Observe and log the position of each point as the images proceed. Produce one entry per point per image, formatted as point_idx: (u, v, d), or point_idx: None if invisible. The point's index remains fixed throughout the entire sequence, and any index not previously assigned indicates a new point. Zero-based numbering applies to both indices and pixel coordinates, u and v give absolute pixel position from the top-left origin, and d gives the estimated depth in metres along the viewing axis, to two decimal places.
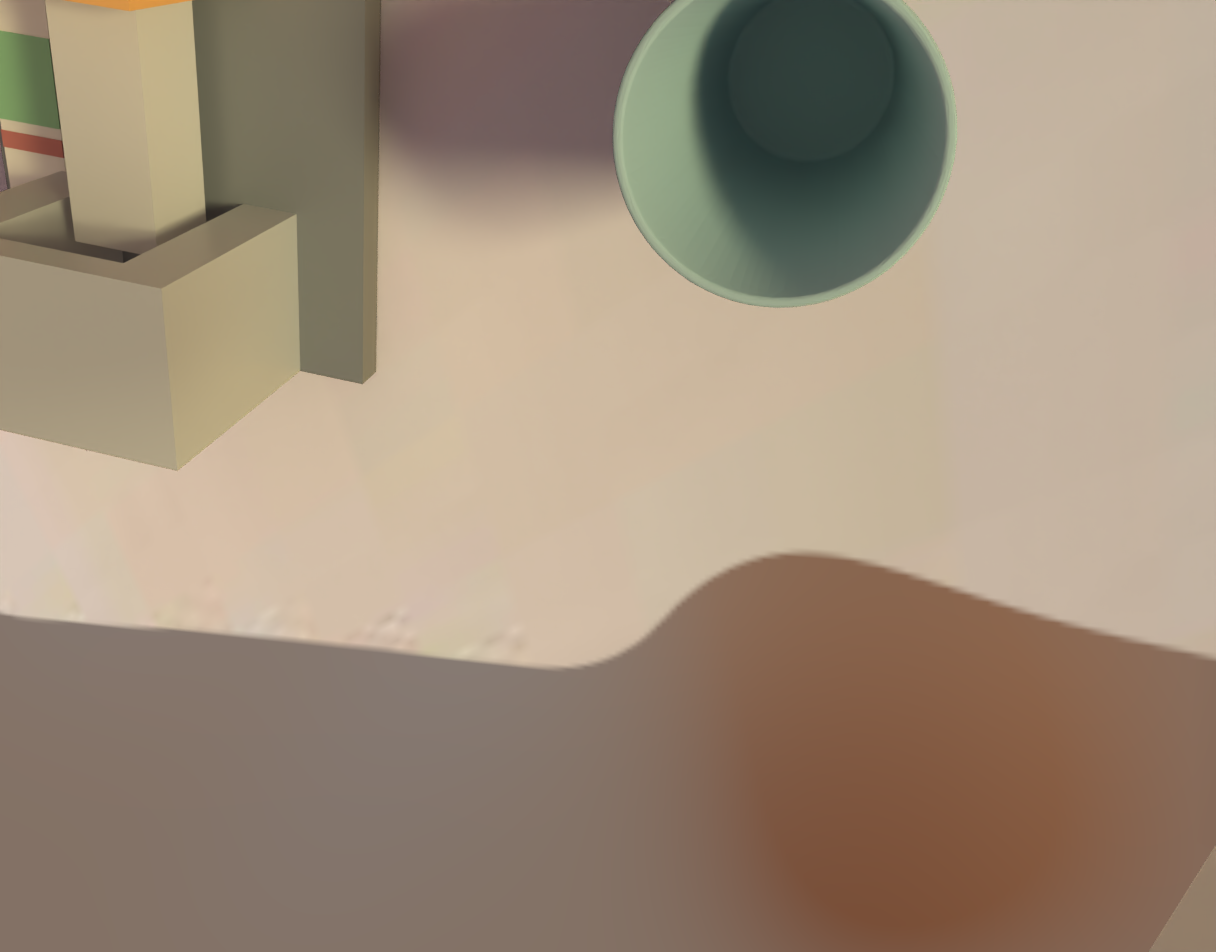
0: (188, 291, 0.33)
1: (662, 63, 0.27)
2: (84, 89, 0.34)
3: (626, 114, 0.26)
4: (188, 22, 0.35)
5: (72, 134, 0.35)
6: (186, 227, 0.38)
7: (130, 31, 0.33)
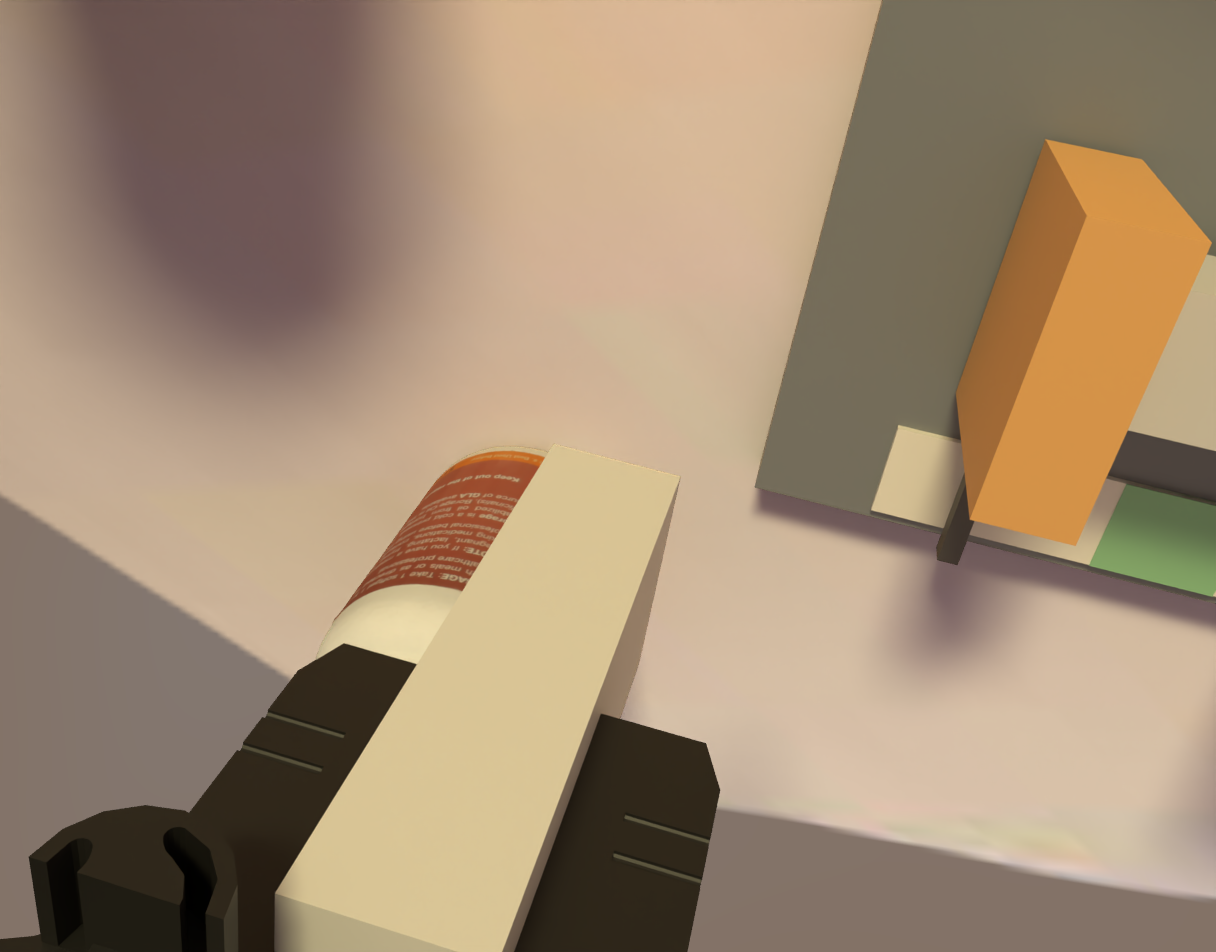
0: None
1: None
2: None
3: None
4: None
5: None
6: None
7: (1197, 304, 0.21)
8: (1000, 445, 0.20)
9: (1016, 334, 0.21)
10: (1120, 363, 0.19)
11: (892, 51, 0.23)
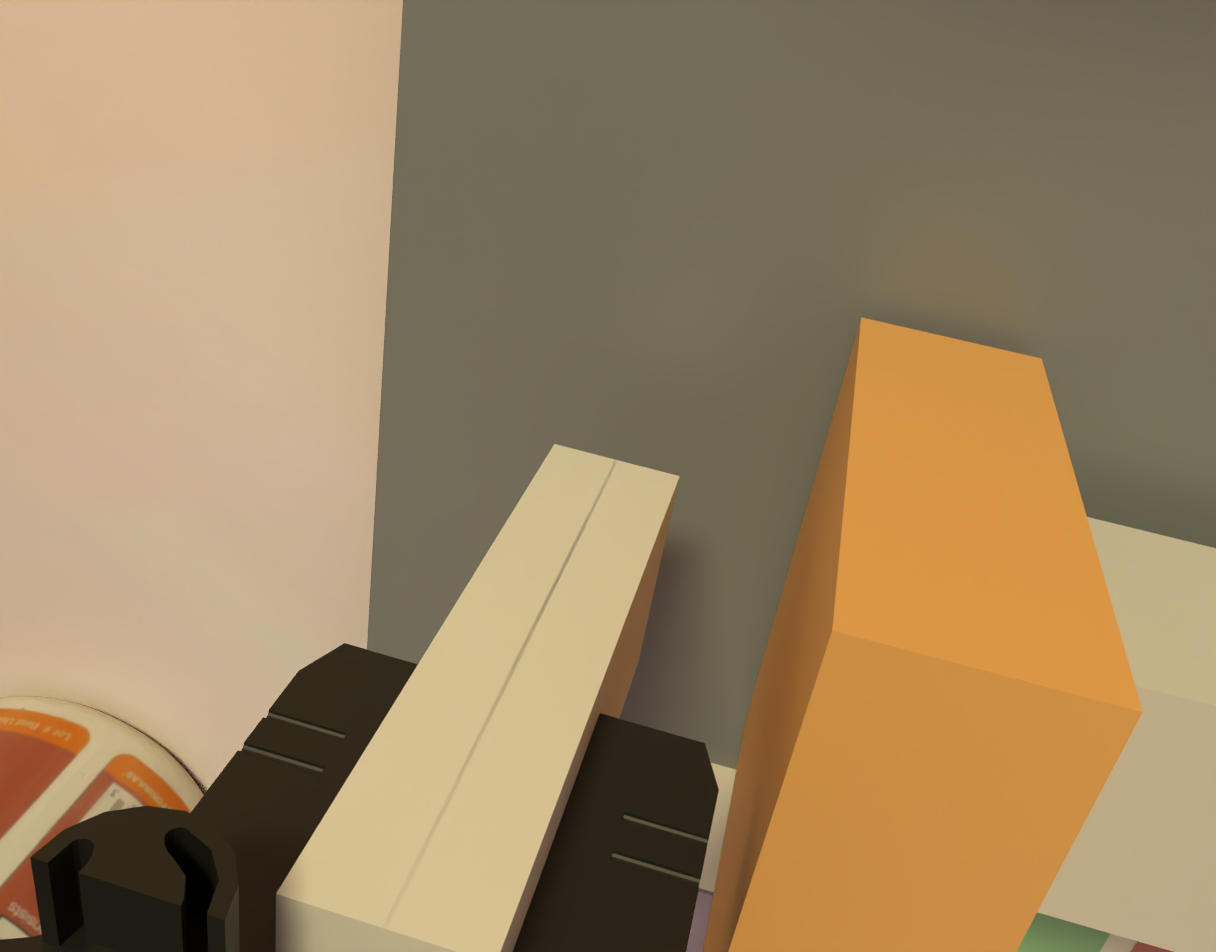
0: None
1: None
2: None
3: None
4: (1099, 530, 0.12)
5: None
6: None
7: None
8: None
9: (765, 752, 0.10)
10: (941, 920, 0.08)
11: (434, 121, 0.13)
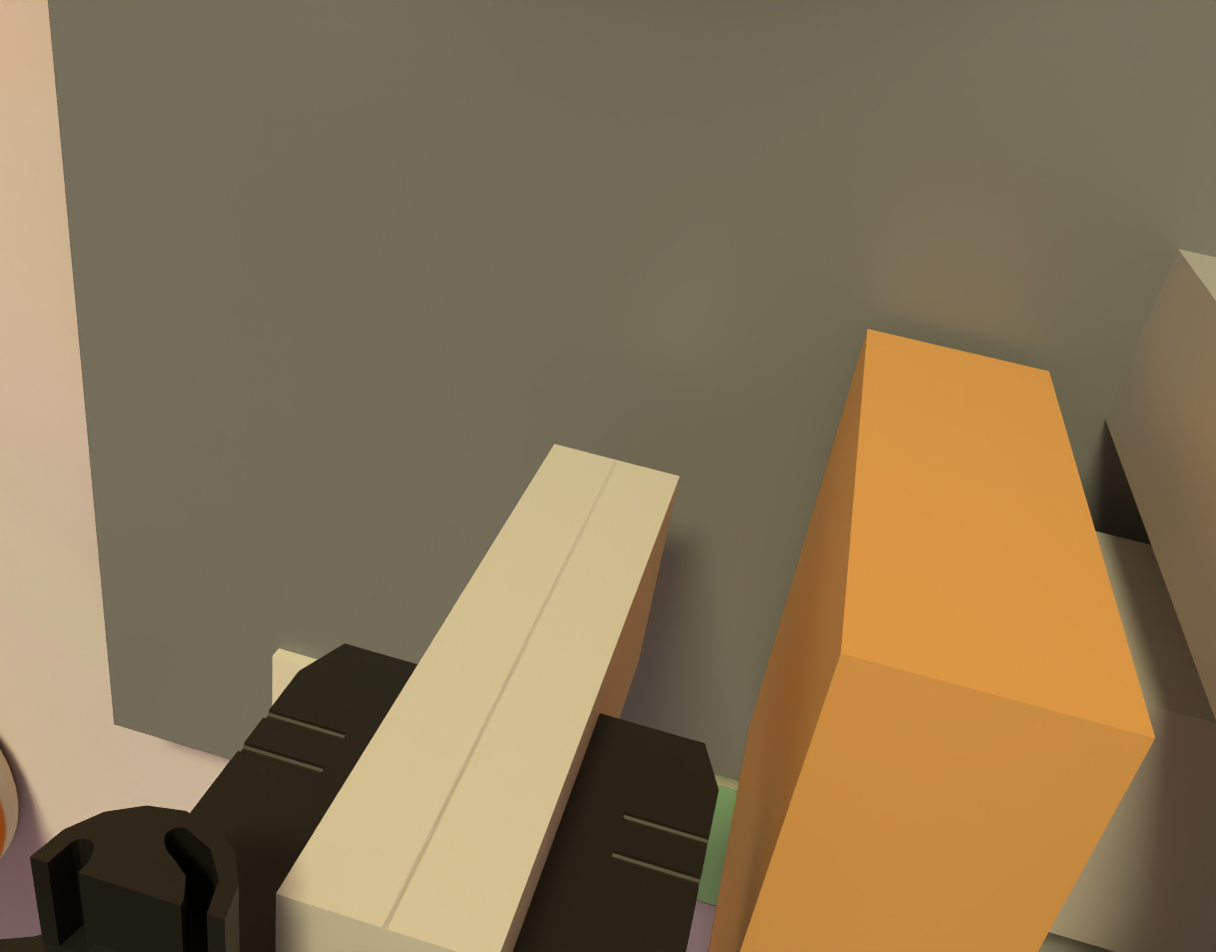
0: None
1: None
2: None
3: None
4: (1106, 545, 0.12)
5: None
6: None
7: None
8: None
9: (769, 769, 0.10)
10: (947, 944, 0.08)
11: (86, 51, 0.13)
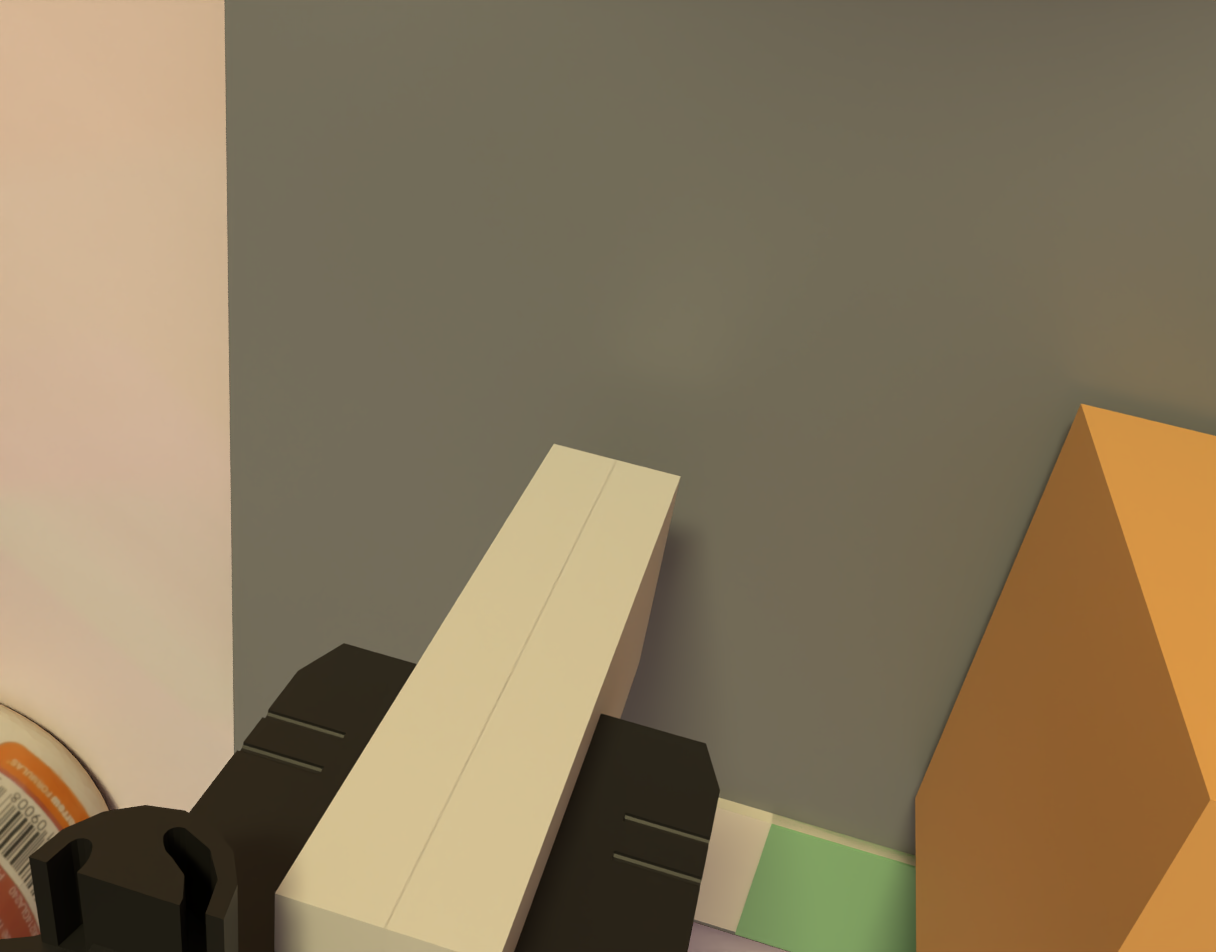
0: None
1: None
2: None
3: None
4: None
5: None
6: None
7: None
8: None
9: (1021, 877, 0.10)
10: None
11: (262, 109, 0.13)
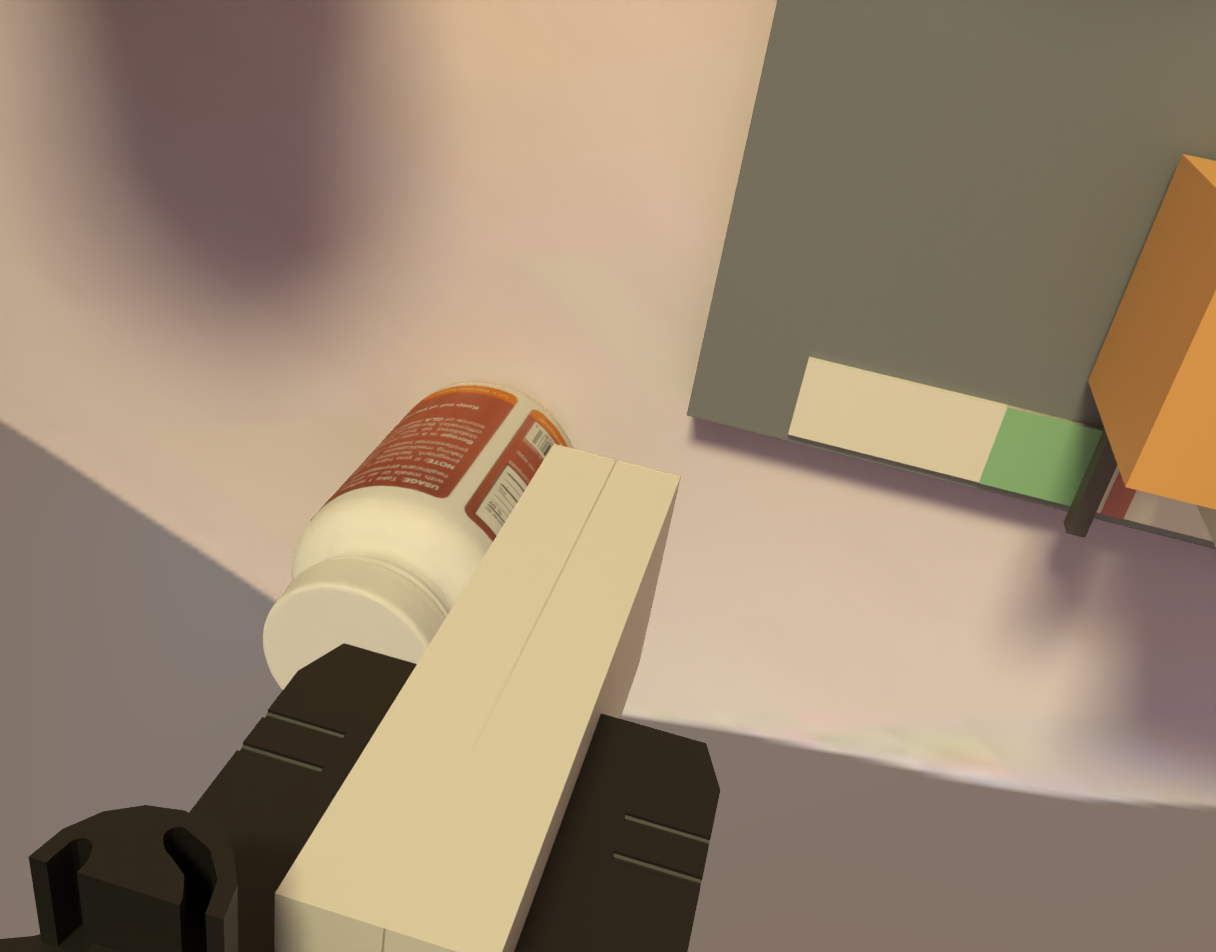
0: None
1: None
2: None
3: None
4: None
5: None
6: None
7: None
8: (1158, 421, 0.23)
9: (1166, 324, 0.24)
10: None
11: (791, 23, 0.27)
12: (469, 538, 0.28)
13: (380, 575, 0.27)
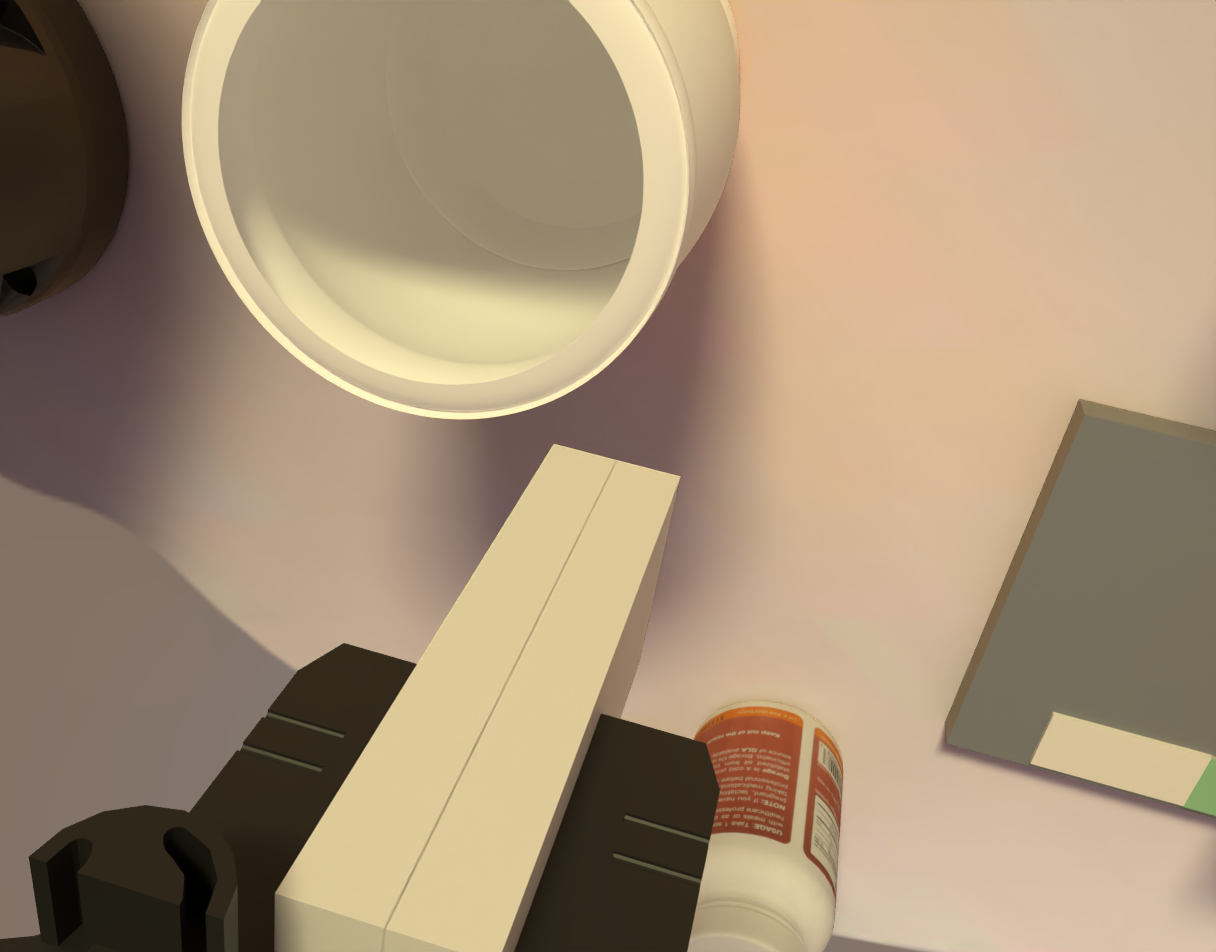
0: None
1: None
2: None
3: None
4: None
5: None
6: None
7: None
8: None
9: None
10: None
11: (1065, 498, 0.36)
12: (812, 878, 0.37)
13: (762, 922, 0.35)
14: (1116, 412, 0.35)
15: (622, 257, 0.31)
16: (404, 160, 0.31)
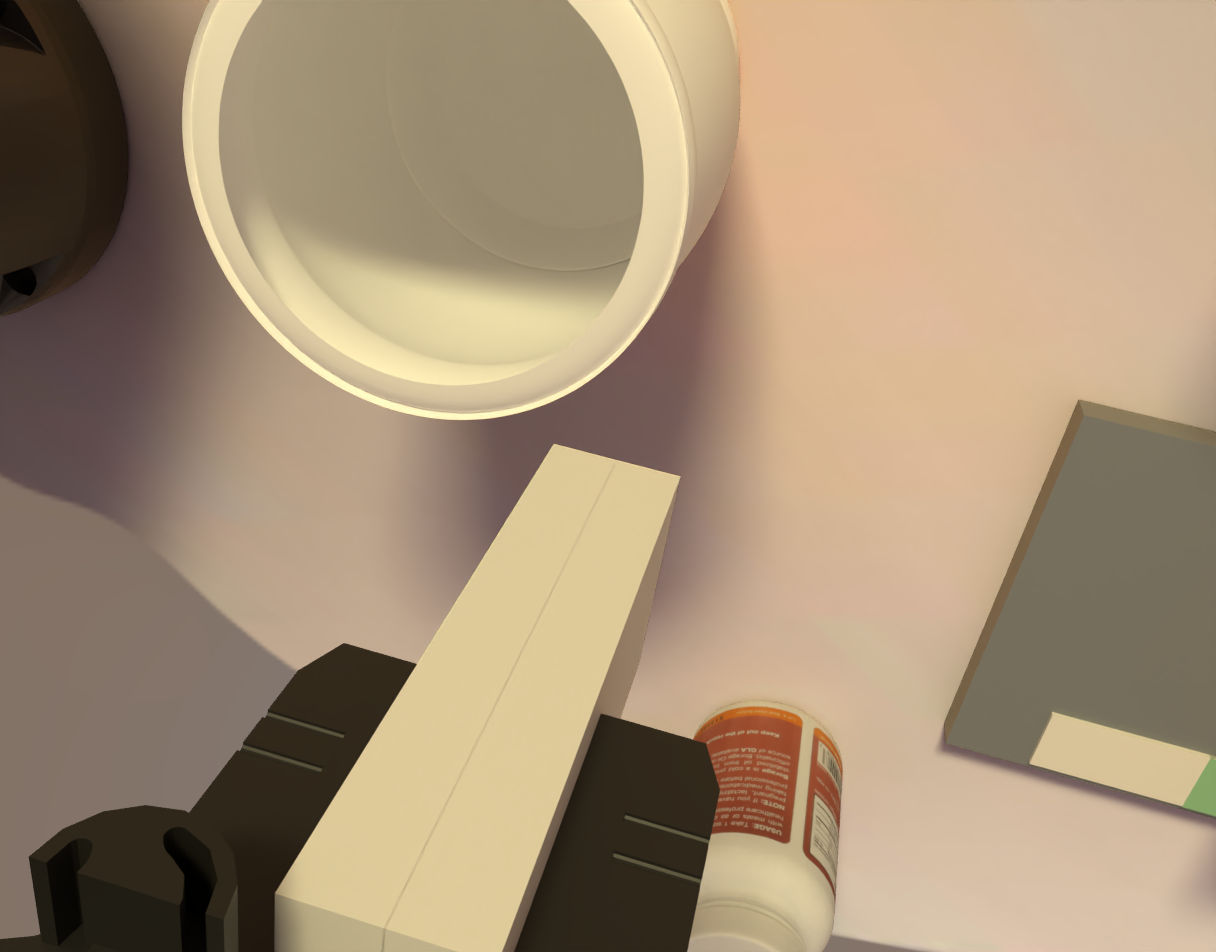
0: None
1: None
2: None
3: None
4: None
5: None
6: None
7: None
8: None
9: None
10: None
11: (1064, 498, 0.36)
12: (812, 878, 0.37)
13: (761, 922, 0.36)
14: (1115, 412, 0.35)
15: (622, 258, 0.31)
16: (404, 160, 0.31)
